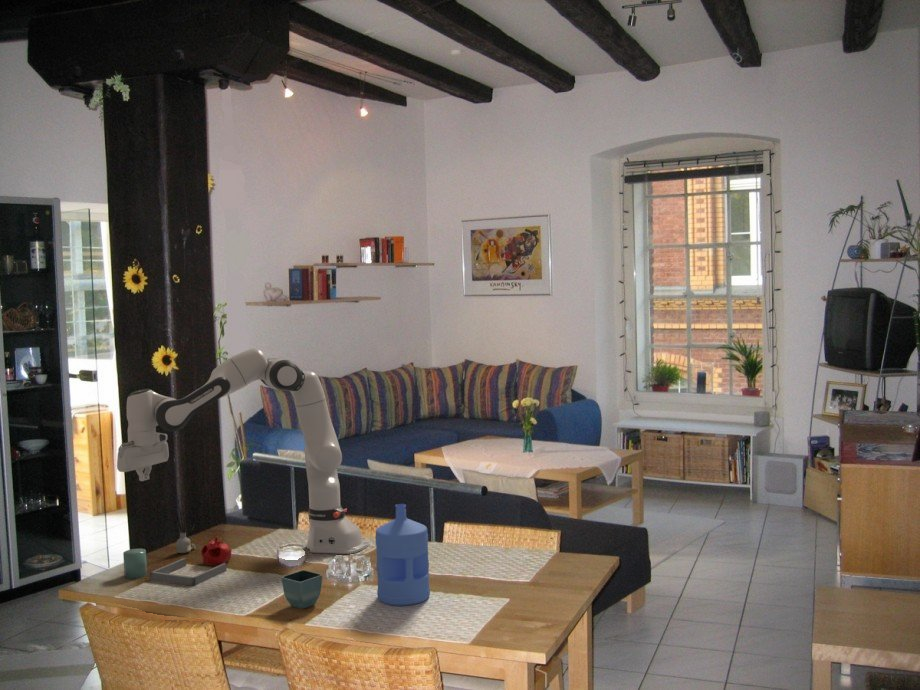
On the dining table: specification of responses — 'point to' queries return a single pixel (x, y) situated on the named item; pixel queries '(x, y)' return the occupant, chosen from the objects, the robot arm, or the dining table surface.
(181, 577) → the grey shallow tray frame
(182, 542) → the reed diffuser
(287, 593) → the flower pot
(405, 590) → the water jug
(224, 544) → the pomegranate
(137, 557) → the rounded teal cylinder
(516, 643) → the dining table surface
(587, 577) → the dining table surface
